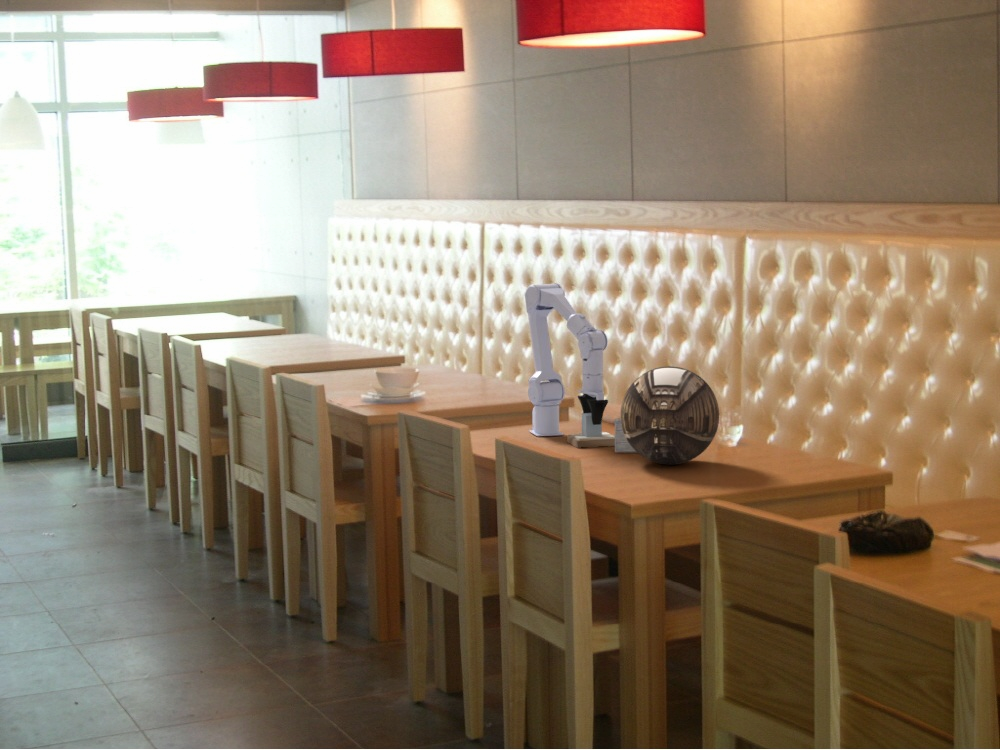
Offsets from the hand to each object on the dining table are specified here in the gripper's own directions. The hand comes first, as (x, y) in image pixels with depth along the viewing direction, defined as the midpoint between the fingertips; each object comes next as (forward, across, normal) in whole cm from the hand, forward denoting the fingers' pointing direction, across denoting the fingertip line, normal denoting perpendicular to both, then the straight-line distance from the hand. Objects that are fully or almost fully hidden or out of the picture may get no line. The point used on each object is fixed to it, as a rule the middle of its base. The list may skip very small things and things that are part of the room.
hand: (592, 422), depth 362 cm
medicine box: (+6, +14, +6) cm, 17 cm away
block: (+4, 0, 0) cm, 4 cm away
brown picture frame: (+6, 0, 0) cm, 6 cm away
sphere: (+6, +34, +10) cm, 36 cm away
